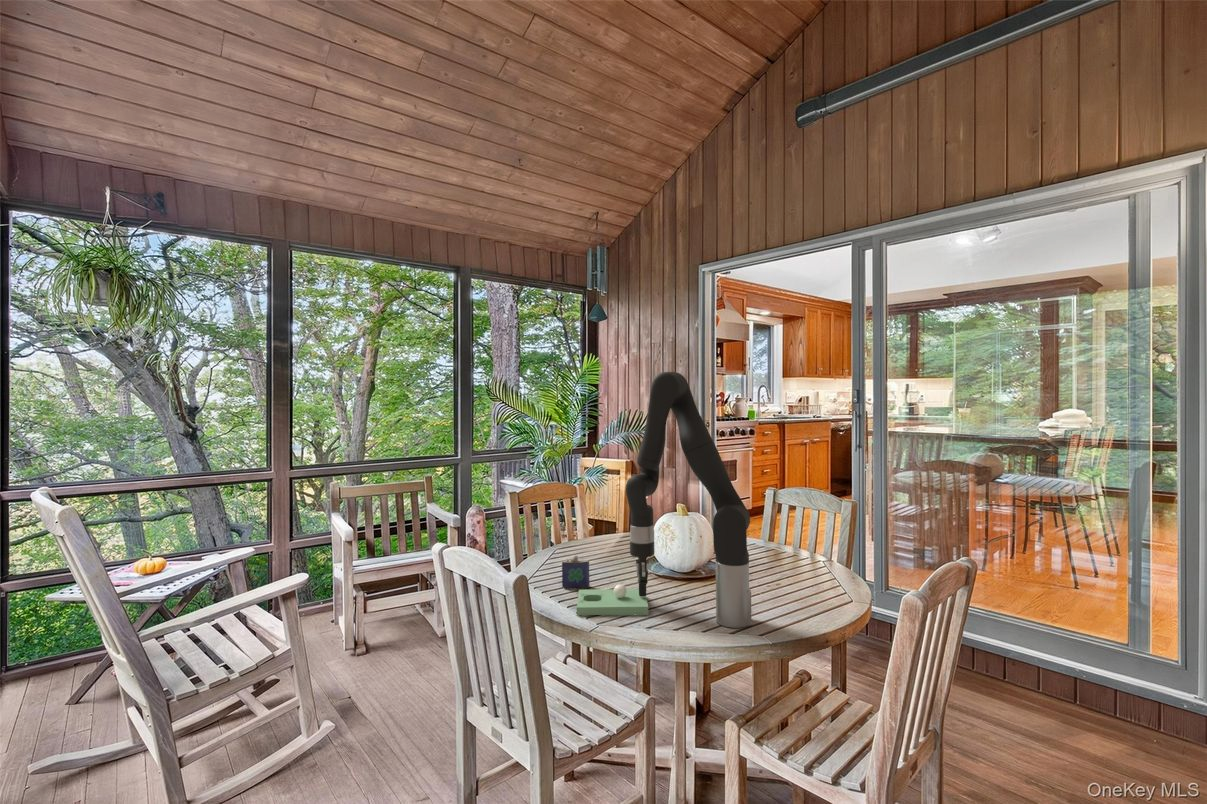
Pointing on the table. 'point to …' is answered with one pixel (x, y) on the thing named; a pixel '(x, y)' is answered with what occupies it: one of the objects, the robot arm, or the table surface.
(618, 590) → the ball
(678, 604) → the table surface
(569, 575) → the flask
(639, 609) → the board
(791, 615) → the table surface
